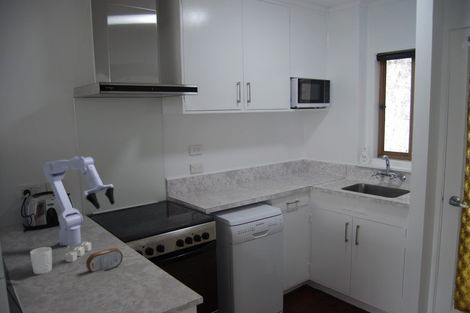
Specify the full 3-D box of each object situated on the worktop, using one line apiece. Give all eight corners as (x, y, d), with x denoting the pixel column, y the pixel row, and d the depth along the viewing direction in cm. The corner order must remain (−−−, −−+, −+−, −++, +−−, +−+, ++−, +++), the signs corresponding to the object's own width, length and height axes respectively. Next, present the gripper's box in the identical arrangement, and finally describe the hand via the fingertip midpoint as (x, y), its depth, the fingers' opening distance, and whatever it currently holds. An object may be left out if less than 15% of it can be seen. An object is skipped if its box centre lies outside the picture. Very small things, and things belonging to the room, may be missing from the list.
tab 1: (65, 261, 159) (65, 253, 159) (70, 258, 162) (69, 250, 162) (73, 261, 159) (72, 253, 158) (77, 258, 162) (76, 250, 161)
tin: (121, 263, 159) (120, 245, 158) (124, 265, 157) (123, 247, 156) (86, 274, 149) (85, 254, 148) (89, 276, 147) (87, 256, 146)
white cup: (57, 270, 153) (55, 247, 152) (42, 278, 146) (40, 255, 144) (43, 268, 156) (41, 246, 154) (27, 276, 148) (25, 252, 147)
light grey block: (81, 251, 171) (80, 243, 170) (84, 248, 174) (84, 241, 174) (88, 251, 170) (87, 243, 170) (91, 248, 174) (91, 241, 173)
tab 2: (73, 256, 165) (73, 248, 165) (77, 253, 168) (77, 245, 168) (80, 256, 165) (80, 248, 164) (84, 253, 168) (84, 245, 167)
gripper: (82, 179, 159) (95, 206, 156) (111, 173, 170) (123, 198, 168) (76, 186, 163) (88, 213, 161) (104, 180, 175) (116, 204, 172)
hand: (106, 206), depth 164 cm, fingers open, 7 cm apart
